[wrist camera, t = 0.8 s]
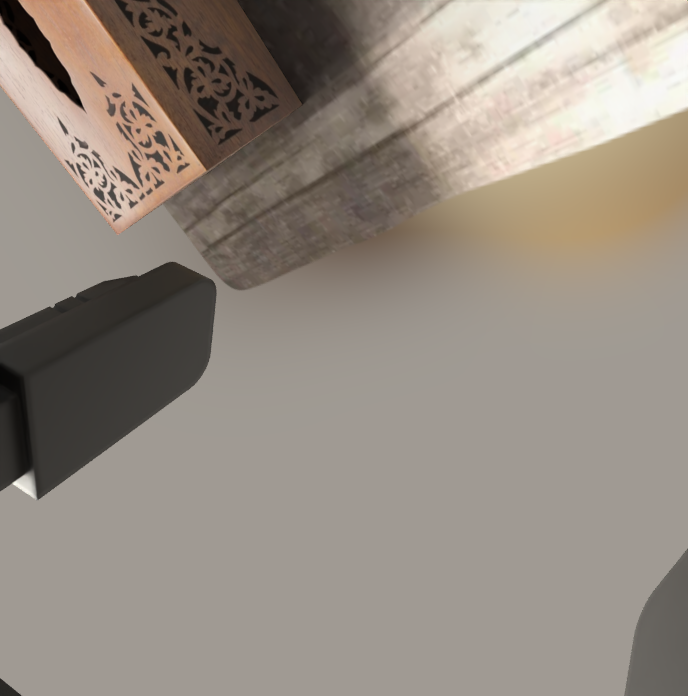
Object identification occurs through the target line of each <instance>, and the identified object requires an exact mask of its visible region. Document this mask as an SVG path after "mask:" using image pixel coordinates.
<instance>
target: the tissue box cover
mask: <svg viewBox="0 0 688 696" xmlns="http://www.w3.org/2000/svg"><path fill="white" fill-rule="evenodd" d="M0 86H1V88H2V89H3V90H4V91H5V93H6V94H7V95H8V96H9V98H10V99H11V100H12V101H13V103H14V104H15V105H16V107H17V108H18V109H19V110H20V112H21V113H22V114H23V115H24V117H25V118H26V119H27V120H28V121H29V123H30V124H31V126H32V127H33V128H34V129H35V131H36V132H37V133H38V135H39V136H40V137H41V138H42V140H43V141H44V142H45V143H46V145H47V146H48V147H49V149H50V150H51V151H52V152H53V154H54V155H55V156H56V157H57V159H58V160H59V161H60V162H61V164H62V165H63V166H64V168H65V169H66V170H67V171H68V173H69V174H70V175H71V176H72V178H73V179H74V180H75V182H76V183H77V184H78V185H79V186H80V188H81V189H82V190H83V192H84V193H85V194H86V195H87V197H88V198H89V199H90V201H91V202H92V203H93V204H94V206H95V207H96V208H97V209H98V211H99V212H100V213H101V215H102V216H103V217H104V218H105V220H106V221H107V222H108V223H109V225H110V226H111V227H112V228H113V230H114V231H115V232H116V234H117V235H118V234H120V233H121V232H123V231H124V230H126V229H127V228H129V227H130V226H131V225H133V224H134V223H136V222H137V221H139V220H140V219H141V218H143V217H144V216H146V215H147V214H149V213H150V212H152V211H153V210H155V209H156V208H157V207H159V206H160V205H162V204H163V203H165V202H166V201H168V200H169V199H170V198H172V197H173V196H175V195H176V194H178V193H179V192H181V191H182V190H183V189H185V188H186V187H188V186H189V185H191V184H192V183H194V182H195V181H197V180H198V179H199V178H201V177H202V176H204V175H205V174H207V173H208V172H209V171H211V170H212V169H214V168H215V167H216V166H218V165H219V164H221V163H222V162H223V161H225V160H226V159H227V158H229V157H230V156H232V155H233V154H234V153H236V152H237V151H239V150H240V149H241V148H243V147H244V146H246V145H247V144H248V143H250V142H251V141H253V140H254V139H255V138H257V137H258V136H260V135H261V134H262V133H264V132H265V131H267V130H268V129H269V128H271V127H272V126H274V125H275V124H276V123H278V122H279V121H281V120H282V119H283V118H285V117H286V116H288V115H289V114H290V113H292V112H293V111H295V110H296V109H297V108H299V107H300V106H302V103H301V102H300V100H299V98H298V97H297V95H296V94H295V92H294V90H293V89H292V87H291V86H290V84H289V83H288V81H287V79H286V78H285V76H284V75H283V73H282V71H281V70H280V68H279V67H278V65H277V63H276V62H275V60H274V59H273V57H272V56H271V54H270V52H269V51H268V49H267V48H266V46H265V44H264V43H263V41H262V40H261V38H260V36H259V35H258V33H257V32H256V30H255V29H254V27H253V25H252V24H251V22H250V21H249V19H248V17H247V16H246V14H245V13H244V11H243V9H242V8H241V6H240V5H239V3H238V1H237V0H0Z"/></svg>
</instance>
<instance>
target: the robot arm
mask: <svg viewBox="0 0 688 696" xmlns="http://www.w3.org/2000/svg"><path fill="white" fill-rule="evenodd" d="M215 303H216V286H215V283H214V282H213V281H212V280H211V279H209V278H207V277H205V276H203V275H201V274H199V273H197V272H195V271H193V270H190V269H188V268H186V267H184V266H182V265H180V264H178V263H176V262H169V263H166V264H164V265H161V266H159V267H157V268H155V269H153V270H151V271H149V272H147V273H145V274H143V275H141V276H139V277H138V276H130V277H125V278H119V279H114V280H109V281H104V282H101V283H99V284H97V285H95V286H93V287H91V288H88V289H86V290H84V291H82V292H80V293H78V294H77V296H76V297H75V298H74V297H72V296H71V297H69V298H67V299H65V300H63V301H60V302H58V303H56V304H55V306H54V308H51V307H48V308H46V309H43V310H41V311H39V312H37V313H35V314H33V315H30V316H28V317H26V318H24V319H22V320H20V321H18V322H15V323H13V324H11V325H9V326H7V327H5V328H3V329H0V491H1V490H3V489H4V488H6V487H7V486H9V485H10V484H14V485H15V486H17V487H18V488H20V489H21V490H23V491H24V492H26V493H27V494H28V495H30V496H31V497H33V498H34V499H36V500H38V499H40V498H41V497H43V496H44V495H45V494H47V493H48V492H50V491H51V490H52V489H54V488H55V487H56V486H58V485H59V484H60V483H62V482H63V481H64V480H66V479H67V478H68V477H70V476H71V475H73V474H74V473H75V472H77V471H78V470H79V469H81V468H82V467H83V466H85V465H86V464H88V463H89V462H90V461H92V460H93V459H94V458H96V457H97V456H98V455H100V454H101V453H102V452H104V451H105V450H107V449H108V448H109V447H111V446H112V445H114V444H115V443H116V442H118V441H119V440H120V439H122V438H123V437H124V436H126V435H127V434H129V433H130V432H131V431H132V430H134V429H135V428H137V427H138V426H139V425H141V424H142V423H143V422H145V421H146V420H148V419H149V418H150V417H152V416H153V415H154V414H156V413H157V412H158V411H160V410H161V409H163V408H164V407H165V406H166V405H168V404H169V403H171V402H172V401H174V400H175V399H176V398H178V397H179V396H180V395H182V394H183V393H184V392H186V391H187V390H189V389H190V388H191V387H192V386H194V385H195V383H196V382H197V381H198V380H199V379H200V377H201V376H202V374H203V373H204V371H205V369H206V367H207V365H208V362H209V358H210V353H211V343H212V333H213V323H214V314H215V313H214V312H215ZM0 696H21V695H20V694H19V693H18V692H16V691H15V690H14V689H13V688H12V687H10V686H9V685H8V684H6V683H5V682H4V681H3V680H2V679H0ZM625 696H688V549H687V550H686V551H685V553H684V554H683V555H682V557H681V558H680V559H679V560H678V562H677V563H676V564H675V565H674V566H673V568H672V569H671V570H670V571H669V573H668V574H667V575H666V576H665V577H664V579H663V580H662V581H661V582H660V584H659V585H658V586H657V588H656V589H655V590H654V591H653V593H652V594H651V596H650V597H649V599H648V601H647V602H646V604H645V606H644V608H643V610H642V613H641V615H640V617H639V620H638V623H637V626H636V630H635V635H634V641H633V646H632V652H631V659H630V665H629V671H628V677H627V684H626V689H625Z"/></svg>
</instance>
